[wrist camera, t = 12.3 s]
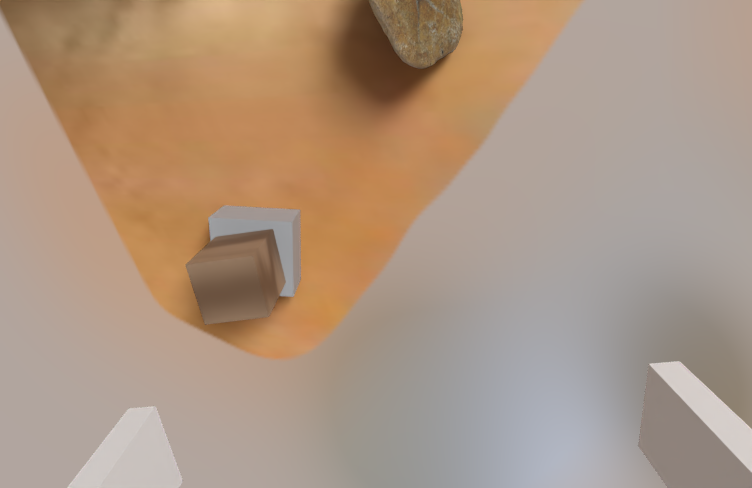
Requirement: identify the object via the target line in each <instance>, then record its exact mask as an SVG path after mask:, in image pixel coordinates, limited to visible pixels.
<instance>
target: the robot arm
mask: <svg viewBox="0 0 752 488" xmlns="http://www.w3.org/2000/svg"><path fill="white" fill-rule="evenodd" d="M638 446H639V448H640V449H641V451H642V452H643V453H644V455H645V456H646V458H647V459H648V460H649V462H650V463H651V465H652V466H653V468H654V469H655V471H656V472H657V473H658V475H659V476H660V477H661V479H662V480H663V482H664V483H665V485H666V486H667V488H752V429H751V428H750V427H749V426H748V425H747V424H746V423H745V422H744V421H742V420H741V419H740V418H739V417H738V416H737V415H736V414H735V413H734V412H733V411H732V410H731V409H730V408H729V407H728V406H726V405H725V404H724V403H723V402H722V401H721V400H720V399H719V398H718V397H717V396H716V395H715V394H714V393H713V392H712V391H711V390H709V389H708V388H707V387H706V386H705V385H704V384H703V383H702V382H701V381H700V380H699V379H698V378H697V377H696V376H695V375H693V374H692V373H691V372H690V371H689V370H688V369H687V368H686V367H685V366H684V365H683V364H682V363H681V362H680V361H676V362H665V363H653V364H649V366H648V374H647V382H646V389H645V398H644V406H643V413H642V421H641V429H640V436H639V444H638ZM182 481H183V480H182V477H181V474H180V471H179V469H178V466H177V464H176V461H175V458H174V455H173V453H172V450H171V447H170V444H169V442H168V439H167V436H166V434H165V431H164V428H163V425H162V422H161V420H160V417H159V414H158V412H157V409H156V407H155V406H153V407H141V408H129V409H128V410H127V411H126V412H125V414H124V415H123V416H122V418H121V419H120V420H119V421H118V423H117V424H116V425H115V427H114V428H113V429H112V431H111V432H110V433H109V434H108V436H107V437H106V438H105V440H104V441H103V442H102V443H101V445H100V446H99V447H98V449H97V450H96V451H95V452H94V454H93V455H92V456H91V458H90V459H89V460H88V462H87V463H86V464H85V465H84V467H83V468H82V469H81V470H80V472H79V473H78V474H77V476H76V477H75V478H74V480H73V481H72V482H71V483H70V485H69V486H68V487H67V488H180V485H181V483H182Z"/></svg>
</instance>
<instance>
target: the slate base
mask: <svg viewBox="0 0 752 488" xmlns="http://www.w3.org/2000/svg"><path fill="white" fill-rule="evenodd" d="M209 229H210V240H211V241H212V240H213V239H214V238H215V237H217V236H224V235H232V234H239V233H246V232H254V231H261V230H268V229H273V230H274V235H275V239H276V243H277V247H278V251H279V255H280V259H281V263H282V268H283V272H284V276H285V280H286V283H285V285H284V287H283V289H282V291H281V293H280V295H279V296H289V297H294V294H295V292H296V290H297V287H298V285H299V282H300V280H301V240H300V210H296V209H278V208H259V207H241V206H223V207H221V208H220V209H219V210H218V211H216V212H215V213H214V214H212V215H211V216H210V217H209Z"/></svg>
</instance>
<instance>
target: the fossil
mask: <svg viewBox="0 0 752 488" xmlns="http://www.w3.org/2000/svg"><path fill="white" fill-rule="evenodd" d="M369 4H370V7H371V8H372V10H373V13H374V15H375V17H376V19H377V20H378V22H379V23H380V25H381V27H382V29H383V31H384V33H385V34H386V35H387V37H388V39H389V41H390V43H391V45H392V47H393V49H394V51H395V52H396V53H397V55H398V56H399V57H400V59H401V60H402V61H403V62H404V63H407V64H408V65H410V66H412V67H415V68H418V69H424V68H427V67H430V66H432V65H433V64H435V63H436V61H437V60H439V59H441V58H443V57H445V56H446V55H447V54H449V53H451V52H453V51H454V50H455V49H456V47H457V45H458V43H459V40H460V37H461V34H462V30H463V26H462V21H463V16H462V8H461V3H460V0H369Z"/></svg>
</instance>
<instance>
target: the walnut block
mask: <svg viewBox="0 0 752 488" xmlns="http://www.w3.org/2000/svg"><path fill="white" fill-rule="evenodd" d="M186 268H187V271H188V274H189V277H190V280H191V284H192V287H193V290H194V293H195V296H196V299H197V302H198V305H199V308H200V311H201V314H202V317H203V320H204V323H205V325H207V324H215V323H223V322H231V321H239V320H248V319H256V318H264V317H269V316H270V314H271V312H272V310H273V308H274V306H275V304H276V302H277V300H278V298H279V295H280V293H281V291H282V289H283V287H284V285H285V283H286V280H285V276H284V272H283V268H282V263H281V259H280V255H279V251H278V247H277V243H276V239H275V235H274V230H273V229H268V230H261V231H254V232H246V233H239V234H232V235H224V236H217V237H215V238H214V239H213V240H212V241H210V242H209V243H208V244H207V245H206V246H205V247H204V248H203V249H202V250H201V251H200V252H199V253H197V254H196V255H195V256H194V257H193V258H192V259H191V260H190V261H189V262H188V263H187V264H186Z"/></svg>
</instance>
